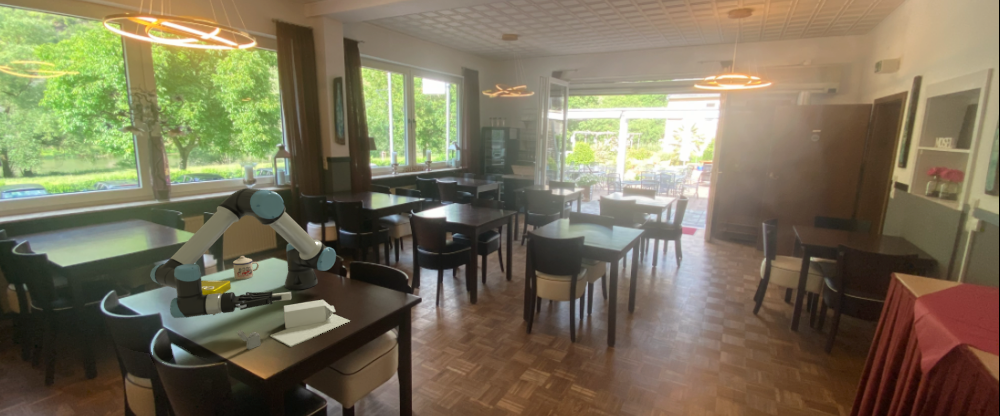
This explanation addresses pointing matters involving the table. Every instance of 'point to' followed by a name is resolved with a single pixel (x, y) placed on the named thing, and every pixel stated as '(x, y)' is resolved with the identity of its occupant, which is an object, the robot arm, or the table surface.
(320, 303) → the milk carton
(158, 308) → the table surface
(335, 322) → the mat
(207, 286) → the element tile
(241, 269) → the teacup with lid
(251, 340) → the lighter
